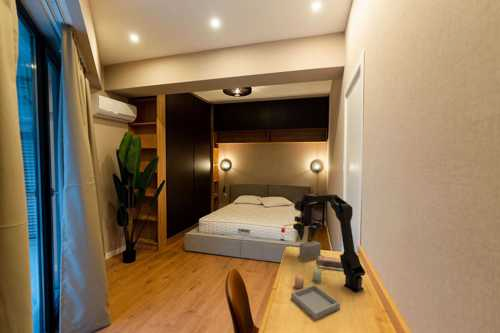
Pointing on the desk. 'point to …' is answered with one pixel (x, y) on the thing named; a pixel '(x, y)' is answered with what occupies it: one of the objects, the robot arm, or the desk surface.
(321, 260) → the packaged product
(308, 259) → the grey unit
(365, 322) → the desk surface
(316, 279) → the sage part
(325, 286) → the desk surface
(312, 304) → the tray
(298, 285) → the terracotta part
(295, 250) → the desk surface
